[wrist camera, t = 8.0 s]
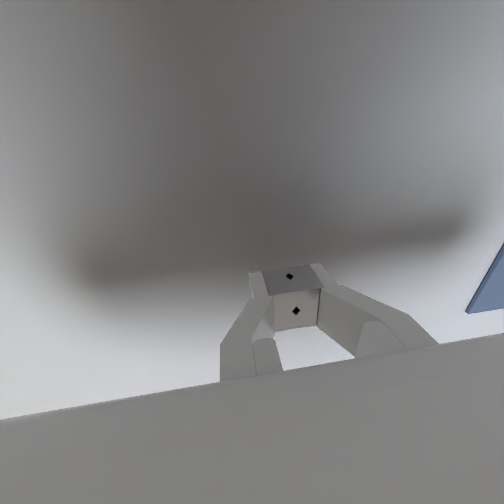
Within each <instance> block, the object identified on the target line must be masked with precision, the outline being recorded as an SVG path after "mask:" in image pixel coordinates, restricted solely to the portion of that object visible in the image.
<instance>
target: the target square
mask: <svg viewBox="0 0 504 504" xmlns="http://www.w3.org/2000/svg"><path fill="white" fill-rule="evenodd" d="M502 308H504V245H503V247H502V249H501V251H500V252H499V254H498V256H497V258H496V259H495V261H494V263H493V265H492V266H491V268H490V270H489V272H488V273H487V275H486V277H485V279H484V280H483V282H482V284H481V286H480V287H479V289H478V291H477V292H476V294H475V296H474V298H473V299H472V301H471V303H470V305H469V306H468V308H467V310H466V313H468V314H471V313H478V312H484V311H490V310H496V309H502Z"/></svg>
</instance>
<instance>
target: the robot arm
mask: <svg viewBox="0 0 504 504" xmlns="http://www.w3.org/2000/svg"><path fill="white" fill-rule="evenodd" d="M249 281H250V291H251V299H250V300H249V302H248V303H247V305H246V306H245V308H244V309H243V311H242V312H241V314H240V315H239V317H238V318H237V320H236V321H235V323H234V324H233V326H232V327H231V329H230V330H229V332H228V333H227V335H226V336H225V338H224V339H223V341H222V342H221V344H220V382H216V383H210V384H204V385H199V386H193V387H187V388H181V389H175V390H169V391H164V392H158V393H152V394H146V395H140V396H135V397H129V398H123V399H117V400H111V401H106V402H100V403H94V404H88V405H82V406H77V407H71V408H65V409H59V410H53V411H48V412H42V413H36V414H30V415H24V416H19V417H13V418H7V419H1V420H0V504H504V333H501V334H495V335H489V336H483V337H477V338H472V339H466V340H460V341H454V342H448V343H443V344H439V343H438V342H437V341H435V340H434V339H433V338H432V337H431V336H430V335H429V334H428V333H427V332H426V331H425V330H424V329H423V328H422V327H421V326H420V325H419V324H418V323H417V322H416V321H415V320H414V319H413V318H412V317H411V316H410V315H408V314H406V313H404V312H401V311H399V310H397V309H395V308H392V307H390V306H388V305H385V304H383V303H381V302H379V301H376V300H374V299H372V298H370V297H367V296H365V295H363V294H361V293H358V292H356V291H354V290H351V289H349V288H347V287H345V286H338V284H337V283H336V282H335V281H334V279H333V278H332V277H331V276H330V274H329V273H328V272H327V271H326V269H325V268H324V267H323V266H322V264H320V263H315V264H309V265H305V266H298V267H291V268H282V269H273V270H265V271H256V272H249ZM316 325H317V327H318V328H319V329H321V330H322V331H323V332H324V333H326V334H327V335H328V336H329V337H331V338H332V339H333V340H334V341H336V342H337V343H338V344H339V345H341V346H342V347H343V348H345V349H346V350H347V351H348V352H350V353H351V354H352V355H353V356H355V359H350V360H344V361H338V362H332V363H326V364H321V365H315V366H309V367H303V368H297V369H292V370H286V371H283V368H282V364H281V361H280V357H279V354H278V350H277V346H276V343H275V340H273V337H274V334H275V332H277V331H283V330H288V329H294V328H301V327H308V326H316Z"/></svg>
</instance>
